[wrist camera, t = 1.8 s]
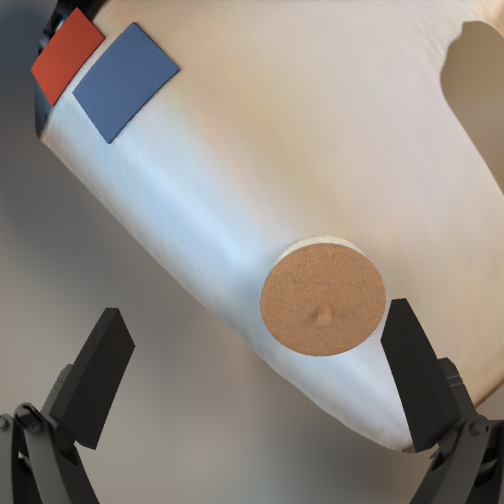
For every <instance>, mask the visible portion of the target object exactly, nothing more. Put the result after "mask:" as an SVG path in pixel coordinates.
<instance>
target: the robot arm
mask: <svg viewBox="0 0 504 504" xmlns="http://www.w3.org/2000/svg"><path fill="white" fill-rule="evenodd" d="M380 341H381V344H382V346H383V349H384V352H385V355H386V357H387V360H388V363H389V366H390V369H391V372H392V375H393V378H394V381H395V384H396V387H397V390H398V393H399V396H400V399H401V402H402V406H403V409H404V412H405V416H406V419H407V423H408V426H409V430H410V433H411V437H412V441H413V444H414V448H415V452H416V453H417V452H420V451H424V450H427V449H430V448H432V447H433V446H434V445H435V444H436V443H437V442H438V445H439V448H438V449H437V450H436V451H435V452H434V453H433V454H432V455H431V457H430V459H432V458H433V457H434V459H433V461H432V463H431V465H430V467H429V469H428V471H427V473H426V475H425V477H424V479H423V481H422V482H421V484H420V486H419V488H418V490H417V491H416V493H415V495H414V497H413V498H412V500H411V502H410V504H504V420H492V421H491V420H488V419H487V418H486V417H484V416H483V415H478V413H477V412H476V410H475V408H474V405H473V403H472V401H471V398H470V396H469V394H468V392H467V389H466V387H465V385H464V384H463V381H462V379H461V377H460V376H459V375H460V374H459V372H458V370H457V368H456V366H455V365H454V364H453V363H452V362H451V361H450V360H449V359H448V358H447V357H446V358H442V359H437V357H436V354H435V352H434V350H433V348H432V346H431V344H430V342H429V340H428V338H427V336H426V334H425V332H424V331H423V329H422V327H421V325H420V323H419V321H418V319H417V317H416V315H415V314H414V312H413V310H412V308H411V306H410V305H409V303H408V301H407V299H406V298H403V299H394V300H392V301H391V305H390V309H389V313H388V316H387V320H386V323H385V327H384V330H383V334H382V337H381V340H380ZM134 348H135V345H134V342H133V340H132V338H131V336H130V334H129V332H128V329H127V327H126V325H125V323H124V321H123V318H122V316H121V313H120V311H119V309H118V308H106V309H105V310H104V312H103V314H102V315H101V317H100V318H99V320H98V322H97V323H96V325H95V327H94V328H93V330H92V332H91V334H90V335H89V337H88V339H87V341H86V342H85V344H84V346H83V348H82V349H81V351H80V353H79V355H78V357H77V358H76V360H75V362H74V364H73V365H71V364H68V365H67V366H66V367H65V368H64V369H63V370H62V371H61V372H60V374H59V376H58V378H57V381H56V382H55V384H54V386H53V388H52V389H51V391H50V394H49V395H48V397H47V399H46V401H45V403H44V405H43V407H42V409H41V411H40V412H38V410H37V409H36V408H35V407H34V406H33V405H31V404H30V403H22V404H21V405H19V406H18V407H17V408H16V409H15V412H14V414H13V418H12V417H11V416H10V415H9V414H2V415H0V504H100V503H99V502H98V499H97V497H96V495H95V493H94V491H93V489H92V486H91V484H90V482H89V479H88V477H87V474H86V472H85V470H84V467H83V464H82V462H81V459H80V456H79V454H78V451H77V448H76V447H75V445H74V442H75V440H76V441H77V442H78V443H79V444H81V445H82V446H84V447H87V448H91V449H94V450H96V447H97V444H98V441H99V438H100V435H101V432H102V430H103V427H104V424H105V421H106V418H107V416H108V413H109V410H110V408H111V405H112V402H113V400H114V397H115V394H116V392H117V389H118V387H119V384H120V382H121V379H122V377H123V374H124V372H125V369H126V367H127V365H128V362H129V360H130V357H131V355H132V353H133V350H134ZM19 452H20V453H21V458H19V457H18V456H19Z"/></svg>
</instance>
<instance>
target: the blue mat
mask: <svg viewBox="0 0 504 504" xmlns="http://www.w3.org/2000/svg"><path fill="white" fill-rule="evenodd" d="M178 71H179V68H178V67H177V66H176V65H175V64H174V63H173V62H172V61H171V60H170V59H169V58H168V57H167V56H166V55H165V54H164V52H163V51H162V50H161V49H160V48H159V47H158V46H157V45H156V44H155V43H154V42H153V41H152V40H151V39H150V38H149V37H148V36H147V35H146V34H145V33H144V32H143V31H142V30H141V29H140V28H139V27H138V26H137V25H136V24H135V23H134V22H133V23H132V24H131V25H130V26H129V27H128V28H127V29H126V30H125V31H124V32H123V33H122V34H121V35H120V36H119V37H118V38H117V39H116V40H115V41H114V42H113V43H112V44H111V45H110V46H109V48H108V49H107V50H106V51H105V52H104V53H103V54H102V56H101V57H100V58H99V59H98V60H97V61H96V63H95V64H94V65H93V66H92V67H91V69H90V70H89V71H88V72H87V74H86V75H85V76H84V78H83V79H82V80H81V81H80V83H79V84H78V85H77V87H76V88H75V89H74V91H73V92H72V93H73V95H74V96H75V97H76V99H77V100H78V102H79V103H80V105H81V106H82V108H83V109H84V111H85V112H86V114H87V115H88V116H89V118H90V119H91V121H92V122H93V124H94V125H95V126H96V128H97V129H98V131H99V132H100V133H101V135H102V136H103V138H104V139H105V140H106V142H107V143H108V144H110V143H111V142H112V140H113V139H114V138H115V137H116V136H117V134H118V133H119V132H120V131H121V130H122V129H123V127H124V126H125V125H126V124H127V123H128V122H129V121H130V119H131V118H132V117H133V116H134V115H135V114H136V113H137V112H138V111H139V110H140V109H141V107H142V106H143V105H144V104H145V103H146V102H147V101H148V100H149V99H150V98H151V97H152V96H153V95H154V94H155V93H156V92H157V91H158V90H159V89H160V88H161V87H162V86H163V85H164V84H165V83H166V82H167V81H168V80H169V79H170V78H172V77H173V76H174V75H175V74H176V73H177V72H178Z"/></svg>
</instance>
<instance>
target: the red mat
mask: <svg viewBox="0 0 504 504" xmlns="http://www.w3.org/2000/svg"><path fill="white" fill-rule="evenodd" d="M104 39H105V37H104V36H103V35H102V34H101V33H100V31H99V30H98V29H97V28H96V27H95V26H94V25H93V24H92V22H91V21H90V20H89V19H88V18H87V17H86V16H85V15H84V14H83V12H82V11H81V10H80V9H79V8H78V7H77V8H76V9H75V10H74V11H73V12H72V13H71V15H70V16H69V17H68V18H67V19H66V21H65V22H64V23H63V24H62V26H61V27H60V28H59V29H58V31H57V32H56V33H55V35H54V36H53V37H52V39H51V40H50V41H49V43H48V44H47V46H46V47H45V49H44V50H43V51H42V53H41V54H40V56H39V57H38V59H37V60H36V62H35V64H34V65H33V67H32V68H31V71H32V73H33V74H34V76H35V78H36V80H37V82H38V83H39V85H40V87H41V89H42V90H43V92H44V94H45V96H46V97H47V99H48V101H49V102H50V104H51V106H54V105H55V103H56V102H57V100H58V99H59V97H60V96H61V94H62V93H63V91H64V90H65V88H66V87H67V86H68V84H69V83H70V81H71V80H72V79H73V77H74V76H75V75H76V73H77V72H78V71H79V69H80V68H81V67H82V66H83V64H84V63H85V62H86V61H87V59H88V58H89V57H90V56H91V54H92V53H93V52H94V51H95V50H96V49H97V47H98V46H99V45H100V44H101V43H102V42H103V41H104Z"/></svg>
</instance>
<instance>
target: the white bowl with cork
mask: <svg viewBox="0 0 504 504" xmlns="http://www.w3.org/2000/svg"><path fill="white" fill-rule="evenodd" d="M385 303H386V293H385V288H384V284H383V281H382V279H381V276H380V274H379V273H378V271H377V269H376V268H375V266H374V265H373V264H372V263H371V261H370V260H369V258H368V257H367V256H366V255H365V254H364V253H363V252H362V251H361V250H360V249H359V248H358V247H357V246H355V245H354V244H352V243H351V242H349V241H347V240H345V239H342V238H339V237H336V236H331V235H315V236H310V237H306V238H303V239H301V240H299V241H297V242H295V243H294V244H292V245H291V246H289V247H288V248H287V249H286V250H285V251H284V252H283V253H282V254H281V255H280V256H279V257H278V259H277V260H276V261H275V263H274V265H273V266H272V268H271V270H270V272H269V275H268V277H267V279H266V281H265V283H264V286H263V289H262V293H261V300H260V305H261V313H262V318H263V320H264V323H265V325H266V327H267V328H268V330H269V332H270V333H271V334H272V335H273V336H274V338H275V339H276V340H278V341H279V342H280V343H281V344H283V345H284V346H286V347H287V348H289V349H291V350H293V351H296V352H298V353H302V354H305V355H311V356H330V355H336V354H340V353H343V352H346V351H348V350H351V349H352V348H354V347H356V346H358V345H359V344H361V343H362V342H363V341H365V340H366V339H367V338H368V337H369V336H370V335H371V334H372V333H373V331H374V330H375V329H376V328H377V326H378V324H379V322H380V321H381V318H382V316H383V313H384V309H385Z"/></svg>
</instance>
